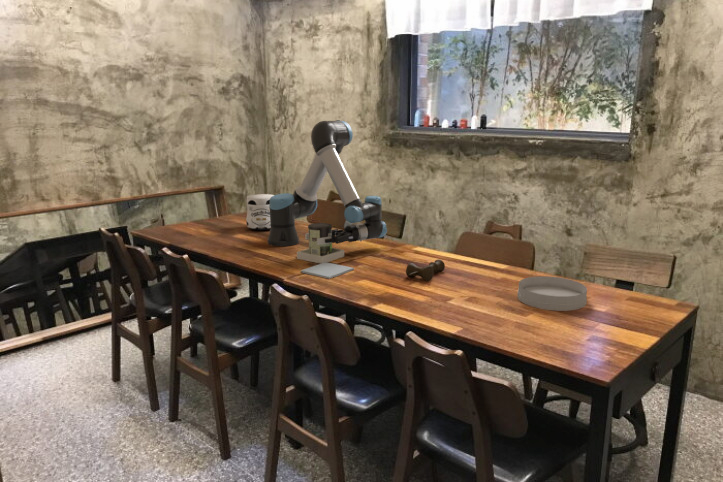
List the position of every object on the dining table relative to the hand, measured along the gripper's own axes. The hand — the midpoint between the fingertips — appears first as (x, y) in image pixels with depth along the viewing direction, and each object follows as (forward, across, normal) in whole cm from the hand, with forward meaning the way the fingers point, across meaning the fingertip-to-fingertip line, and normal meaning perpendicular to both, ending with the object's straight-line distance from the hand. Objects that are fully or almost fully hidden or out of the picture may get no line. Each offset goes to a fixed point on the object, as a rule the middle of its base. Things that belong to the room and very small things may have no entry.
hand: (311, 239), depth 235 cm
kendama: (-24, -47, -9) cm, 54 cm away
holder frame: (-4, 0, -9) cm, 10 cm away
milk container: (-7, +71, -9) cm, 72 cm away
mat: (+3, -20, -9) cm, 22 cm away
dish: (-43, -91, -9) cm, 101 cm away
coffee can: (-4, 0, -9) cm, 10 cm away
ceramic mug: (-42, +32, -9) cm, 54 cm away
